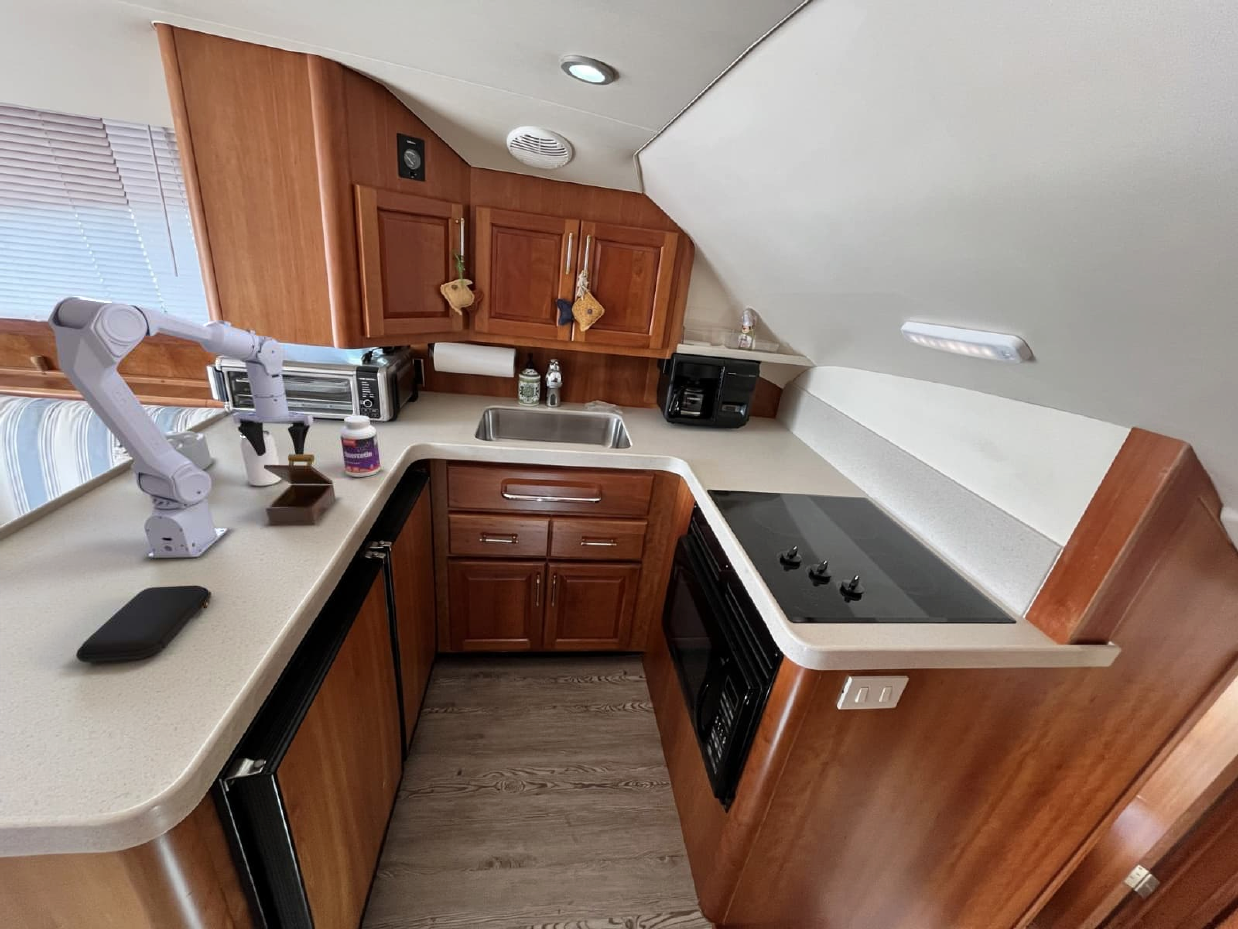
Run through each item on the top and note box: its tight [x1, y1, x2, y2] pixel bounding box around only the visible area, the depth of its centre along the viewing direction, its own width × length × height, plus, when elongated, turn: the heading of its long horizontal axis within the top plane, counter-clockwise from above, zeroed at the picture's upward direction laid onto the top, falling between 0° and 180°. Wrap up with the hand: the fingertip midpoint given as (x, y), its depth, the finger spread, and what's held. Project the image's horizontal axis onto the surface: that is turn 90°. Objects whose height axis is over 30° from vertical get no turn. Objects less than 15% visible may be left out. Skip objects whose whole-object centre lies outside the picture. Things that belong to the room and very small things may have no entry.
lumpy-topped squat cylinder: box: [163, 430, 213, 471], centre depth 117 cm, size 10×13×9 cm
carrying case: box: [76, 584, 212, 664], centre depth 72 cm, size 11×3×15 cm
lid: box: [264, 453, 334, 485], centre depth 104 cm, size 12×9×5 cm
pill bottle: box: [339, 414, 381, 478], centre depth 123 cm, size 8×8×14 cm
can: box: [239, 429, 282, 487], centre depth 115 cm, size 6×6×12 cm
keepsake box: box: [265, 484, 337, 525], centre depth 105 cm, size 11×9×4 cm
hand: (281, 454), depth 107 cm, fingers open, 7 cm apart
